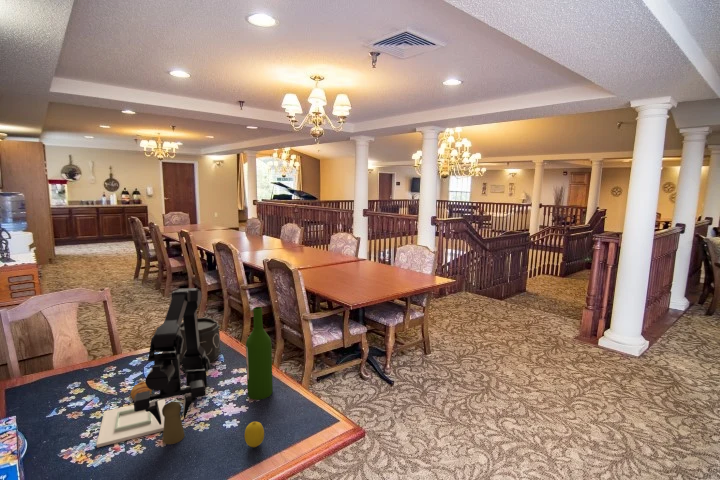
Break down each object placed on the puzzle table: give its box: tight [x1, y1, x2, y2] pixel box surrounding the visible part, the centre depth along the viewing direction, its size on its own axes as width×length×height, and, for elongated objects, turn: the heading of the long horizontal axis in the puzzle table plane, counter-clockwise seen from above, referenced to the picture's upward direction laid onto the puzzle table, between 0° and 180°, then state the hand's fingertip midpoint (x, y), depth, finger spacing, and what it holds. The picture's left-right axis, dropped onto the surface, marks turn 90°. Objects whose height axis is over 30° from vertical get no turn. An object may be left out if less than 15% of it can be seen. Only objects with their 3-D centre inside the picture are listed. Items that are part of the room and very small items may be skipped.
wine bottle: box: [245, 306, 274, 401], centre depth 138 cm, size 9×9×32 cm
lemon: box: [244, 421, 265, 448], centre depth 112 cm, size 6×6×8 cm
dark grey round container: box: [179, 317, 222, 364], centre depth 167 cm, size 18×18×16 cm
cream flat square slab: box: [96, 399, 166, 448], centre depth 123 cm, size 18×18×2 cm
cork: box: [162, 401, 186, 445], centre depth 116 cm, size 6×6×11 cm
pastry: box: [130, 381, 153, 401], centre depth 138 cm, size 9×7×4 cm
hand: (172, 420), depth 116 cm, fingers open, 6 cm apart
